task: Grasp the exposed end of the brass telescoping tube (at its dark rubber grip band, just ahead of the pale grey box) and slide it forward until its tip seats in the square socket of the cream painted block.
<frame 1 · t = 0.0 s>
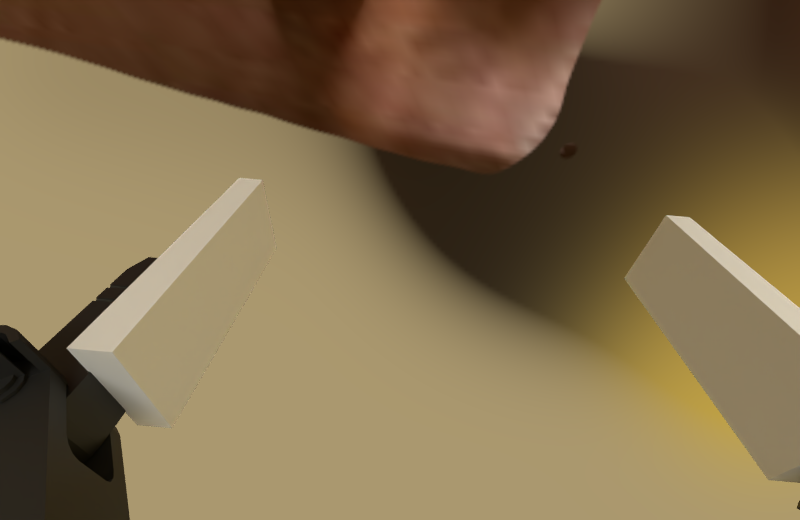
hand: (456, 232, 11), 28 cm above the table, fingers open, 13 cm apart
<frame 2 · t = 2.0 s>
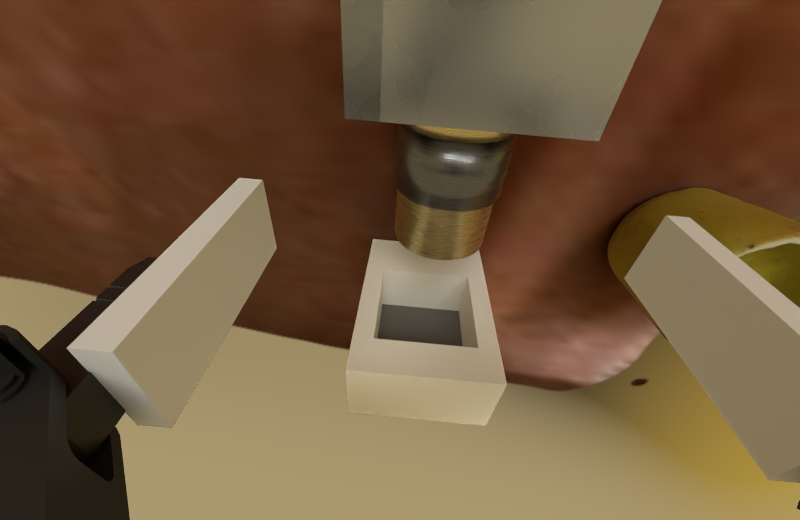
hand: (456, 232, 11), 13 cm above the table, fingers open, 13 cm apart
tube: (468, 59, 13), point 7 cm above the table, slide at 0.0 cm
mug: (688, 223, 26), on the table
socket block: (422, 266, 30), on the table
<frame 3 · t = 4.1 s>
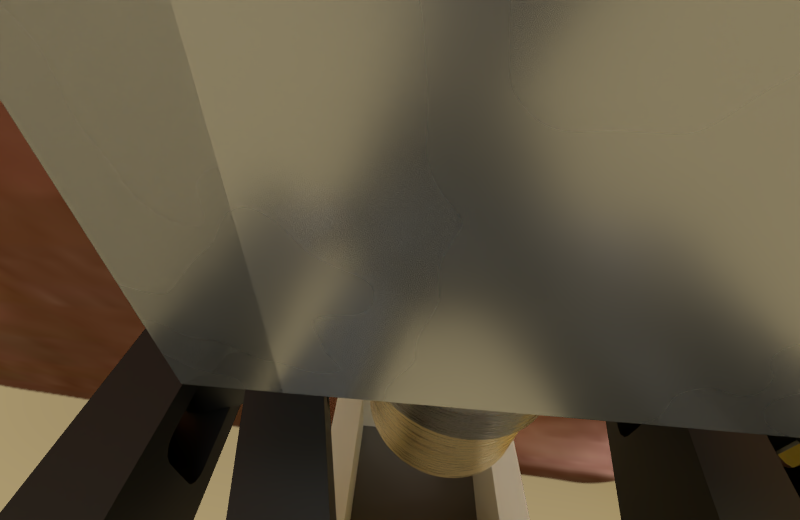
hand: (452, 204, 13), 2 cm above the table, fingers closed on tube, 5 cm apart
tube: (510, 157, 6), point 7 cm above the table, slide at 0.0 cm, touching gripper
mug: (788, 322, 18), on the table
socket block: (418, 363, 22), on the table
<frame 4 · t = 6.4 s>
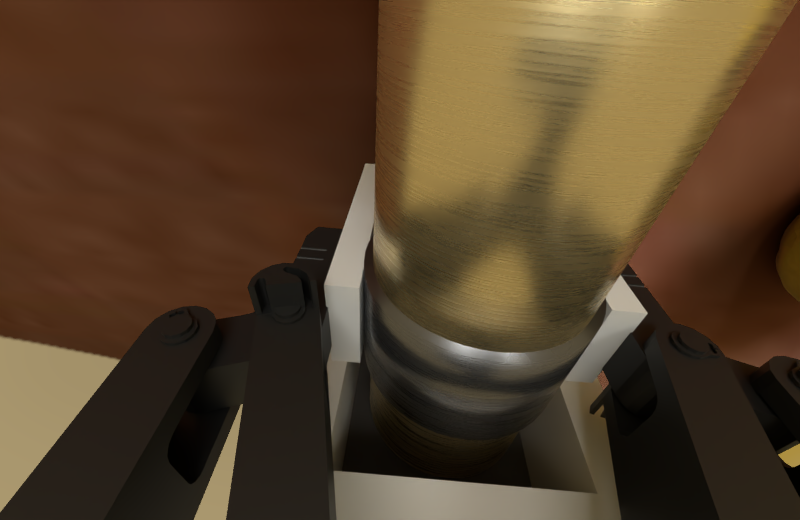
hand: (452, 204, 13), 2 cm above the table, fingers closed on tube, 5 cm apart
tube: (510, 157, 6), point 7 cm above the table, slide at 8.0 cm, touching gripper
socket block: (434, 274, 17), on the table
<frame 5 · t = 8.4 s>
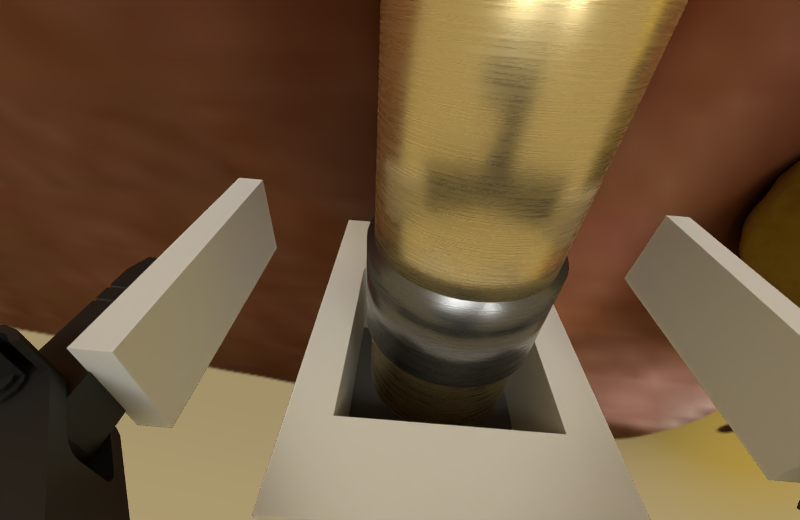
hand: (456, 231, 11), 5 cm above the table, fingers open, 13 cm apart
tube: (486, 147, 8), point 7 cm above the table, slide at 8.0 cm
socket block: (429, 264, 19), on the table
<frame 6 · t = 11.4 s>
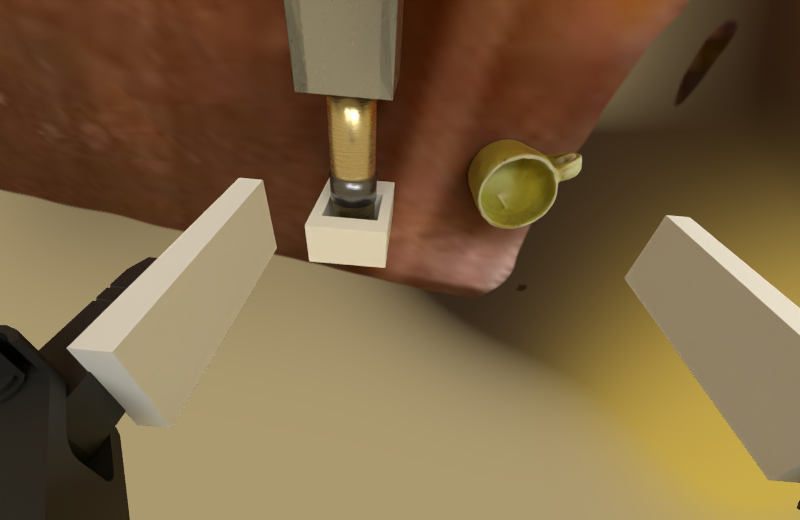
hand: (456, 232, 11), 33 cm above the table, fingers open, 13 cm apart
tube: (353, 151, 36), point 7 cm above the table, slide at 8.0 cm
mug: (514, 163, 43), on the table
socket block: (362, 195, 47), on the table
pale grey box: (361, 6, 34), on the table
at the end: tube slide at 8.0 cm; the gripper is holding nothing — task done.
